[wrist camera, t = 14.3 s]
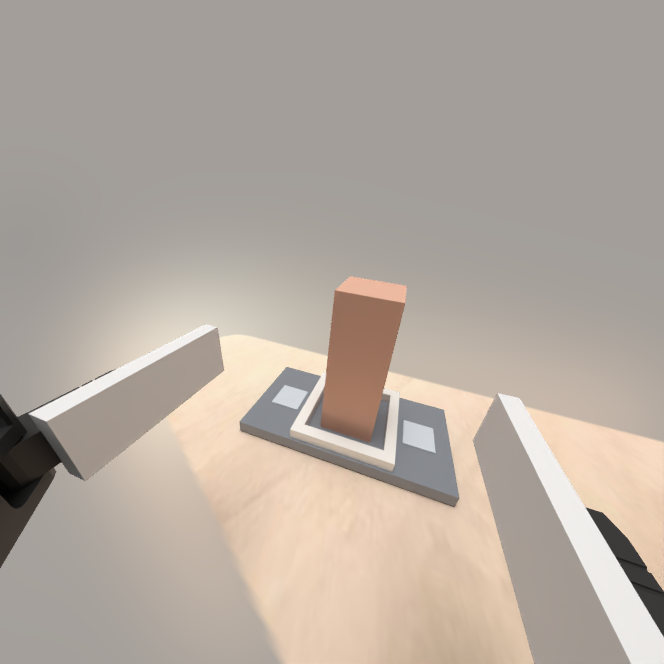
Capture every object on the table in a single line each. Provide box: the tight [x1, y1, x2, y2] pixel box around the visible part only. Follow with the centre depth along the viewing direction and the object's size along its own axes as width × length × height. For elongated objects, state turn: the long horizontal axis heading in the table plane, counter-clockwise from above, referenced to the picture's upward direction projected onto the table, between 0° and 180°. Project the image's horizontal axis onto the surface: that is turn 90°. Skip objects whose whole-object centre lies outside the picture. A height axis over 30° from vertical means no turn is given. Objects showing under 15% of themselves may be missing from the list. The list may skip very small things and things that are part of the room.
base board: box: [240, 367, 459, 506], centre depth 25 cm, size 20×10×2 cm, turn 73°
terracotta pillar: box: [320, 276, 406, 442], centre depth 22 cm, size 5×5×14 cm
